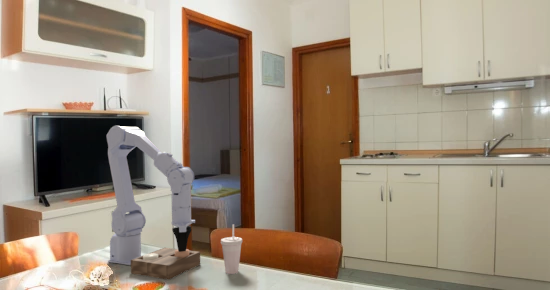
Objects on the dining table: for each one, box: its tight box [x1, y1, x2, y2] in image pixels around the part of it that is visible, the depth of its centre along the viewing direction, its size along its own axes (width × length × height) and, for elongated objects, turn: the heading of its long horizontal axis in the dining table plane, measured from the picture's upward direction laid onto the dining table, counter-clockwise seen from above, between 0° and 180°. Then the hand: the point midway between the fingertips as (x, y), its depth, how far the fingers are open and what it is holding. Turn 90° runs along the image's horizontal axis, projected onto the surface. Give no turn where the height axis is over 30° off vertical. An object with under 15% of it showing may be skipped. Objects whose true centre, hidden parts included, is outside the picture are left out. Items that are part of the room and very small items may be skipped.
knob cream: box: [142, 252, 158, 261], centre depth 117 cm, size 4×4×3 cm
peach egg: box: [175, 248, 190, 258], centre depth 120 cm, size 4×4×3 cm
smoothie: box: [220, 224, 243, 275], centre depth 115 cm, size 6×6×14 cm
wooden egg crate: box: [130, 247, 201, 281], centre depth 118 cm, size 14×15×4 cm
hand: (182, 251), depth 120 cm, fingers closed, pressing on peach egg
